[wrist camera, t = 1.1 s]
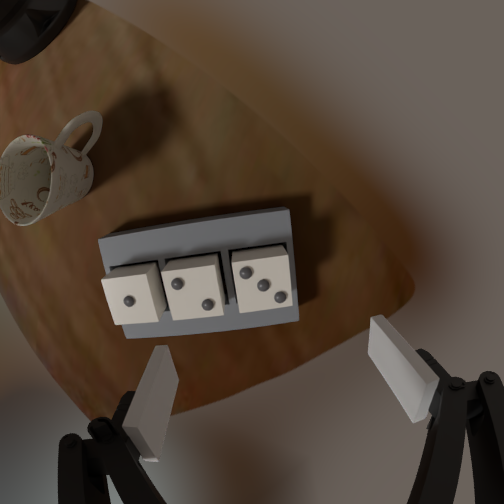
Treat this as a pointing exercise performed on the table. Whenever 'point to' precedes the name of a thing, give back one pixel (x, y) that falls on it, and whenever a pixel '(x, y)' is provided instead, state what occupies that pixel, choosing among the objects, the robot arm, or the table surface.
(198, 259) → the white die
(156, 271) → the white block
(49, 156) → the mug
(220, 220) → the board
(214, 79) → the table surface
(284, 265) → the white block with dots
